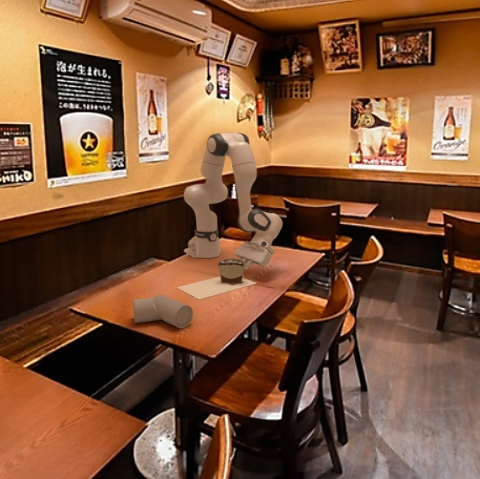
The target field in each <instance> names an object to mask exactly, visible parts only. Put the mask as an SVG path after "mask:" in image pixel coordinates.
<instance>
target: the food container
mask: <svg viewBox="0 0 480 479" xmlns="http://www.w3.org/2000/svg"><path fill="white" fill-rule="evenodd" d="M244 266H245V263H244V261H243V259H241V258H223V259H220V260H219V261H218V263H217V267H219V277H220V278H221V283H233V284H242V278H244V270H245V269H244Z"/></svg>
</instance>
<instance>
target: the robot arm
mask: <svg viewBox="0 0 480 479" xmlns="http://www.w3.org/2000/svg"><path fill="white" fill-rule="evenodd" d="M226 157H229V158H230V161H231V166H232V172H233V178H234V182H235V189H236V199H237V206H238V217H237V226H238V228H239V229H240V230H241V231H242V232H244V233H249V234H250V233H252V232H255V234H254V236H253V237H252V238H251V240H250V241H249V240H246V241H244V242H242V243H241V244H240V245H239V246H238V248H237V249H236V250H235V252H234V255H235V256H236V257H237V259H240V260H243V261H244V263H245V266H244V269H243V270H246V271H247V270H248V269H249V268H251V266H253V265H254V264H255V265H258V266H261V267H263V268H264V267H266V266H268V264H269V263H270V262H271V260H272V258H273V256H274V255H275V253H276V250H275V248H273V247H272V244H273V241H274V239H277V236H278V235H279V233H280V231H281V230H282V227H283V223H284V222H283V220H282V218H281V217H280V216H279V215H278V214H277V213H274V212H272V213H270V212H266V211H264V210H262V209H261V208H260V209H259V208H253V207H252V200H251V189H252V186H253V184H254V183H255V181H256V179H257V176H258V174H257V173H258V171H257V164H256V163H257V162H256V159H255V156H254V153H253V150H252V147H251V146H250V138H249V136H247V134H244V133H242V132H221V133H213V134H211V135H209V137H208V139H207V141H206V148H205V149H204V154H203V157H202V162H201V165H200V166H201V167H200V174H201V176H202V177H203V178H205V183H197V184H193V185H190V186H187V187H186V188H185V189H184V192H183V199H184V202H185V203H186V204H187V205H189V206H190V207H191V208H192V210H193V211H194V215H195V221H196V229H195V230H194V236H193V237H192V238H190V239H189V241H188V243H187V247H188V248H184V250H183V252H184V253H185V254H187V255H188V256H190V257H192V258H193V259H198V258H200V259H212V258H217V257H219V256H221V255H222V252H223V251H222V249H221V243H220V238H219V237H218V236H219V229H218V216H217V214H216V213H215V212H214V211H212V210H211V209H210V204H211V205H212V204H218V203H221V202H223V201H225V200H226V199H227V197H228V195H229V194H228V193H229V190H228V187H227V186H226V185H225V184H224V182H223V179H222V178H223V170H224V165H225V160H226Z"/></svg>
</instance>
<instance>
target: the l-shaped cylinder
mask: <svg viewBox="0 0 480 479" xmlns="http://www.w3.org/2000/svg"><path fill="white" fill-rule="evenodd" d="M132 307H133V318H134V323H135V324H140V323H147V322H155V321H164V322H165V323H166V324H169V325H172V326H174V327H175V328H179V329H184V328H187V327H188V326H189V325H191V323H192V320H193V318H194V311H193V308H192V307H191V306H190V305H188V304H185V303H183V302H180V301H178V300H176V299H173V298H171V297H168V296H167V295H166V296H165V295H162V294H160V293H159V294H156V296H155V297H147V298H138V299H132Z"/></svg>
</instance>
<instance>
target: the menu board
mask: <svg viewBox="0 0 480 479" xmlns="http://www.w3.org/2000/svg"><path fill="white" fill-rule="evenodd" d="M253 285H257V282H255V281H252V280H250V279H248V278H245V277H243V278H242V284H233V283H221V278H220V276H217V277H213V278H208V279H204V280H200V281H196V282H192V283H189V284H185V285H181V286H178V287H177V286H176V289H177V290H180V291H181V292H184V293H185V294H187V295H189V296H191V297H193V298H195V299H197V300H199V301H200V300H204V299H206V298H211V297H214V296H218V295H221V294H225V293H228V292H231V291H236V290H240V289H242V288H246V287H249V286H250V287H251V286H253Z"/></svg>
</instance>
